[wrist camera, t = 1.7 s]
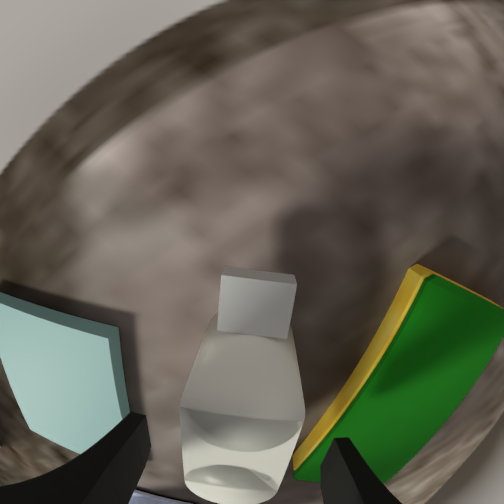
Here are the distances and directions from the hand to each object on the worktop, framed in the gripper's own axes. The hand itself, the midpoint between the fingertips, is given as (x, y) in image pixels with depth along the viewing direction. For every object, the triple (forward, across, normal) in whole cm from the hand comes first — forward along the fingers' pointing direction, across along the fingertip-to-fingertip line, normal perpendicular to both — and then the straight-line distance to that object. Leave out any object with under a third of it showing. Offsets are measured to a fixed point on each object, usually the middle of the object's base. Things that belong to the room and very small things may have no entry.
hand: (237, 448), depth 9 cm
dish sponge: (+5, -9, 0) cm, 10 cm away
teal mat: (+4, +12, +4) cm, 13 cm away
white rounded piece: (+4, 0, 0) cm, 5 cm away
